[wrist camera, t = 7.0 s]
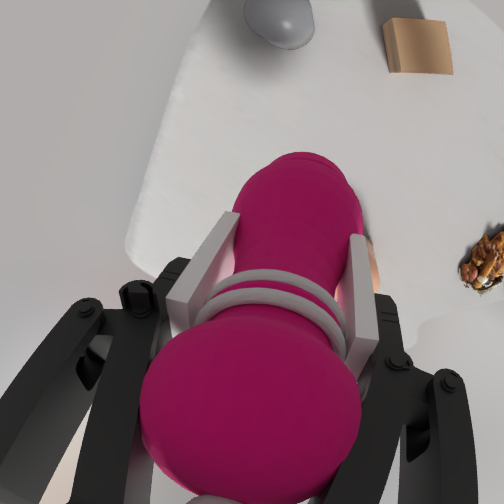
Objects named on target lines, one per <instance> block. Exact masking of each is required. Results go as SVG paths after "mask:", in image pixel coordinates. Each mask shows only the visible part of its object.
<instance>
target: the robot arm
mask: <svg viewBox="0 0 504 504" xmlns="http://www.w3.org/2000/svg"><path fill="white" fill-rule="evenodd" d="M239 218H240V213H234V212H228V211H225V212H224V214H223V215H222V217H221V218H220V219H219V221H218V222H217V224H216V225H215V226H214V228H213V229H212V231H211V232H210V233H209V235H208V236H207V238H206V239H205V241H204V242H203V243H202V245H201V246H200V248H199V249H198V251H197V252H196V253H195V255H194V256H193V258H192V259H186V258H181V257H177V258H176V259H174V260H173V261H171V262H169V263H168V265H167V266H166V267H165V268H164V270H163V272H161V274H160V275H159V277H158V278H157V279H156V280H155V282H154V283H151V282H149V281H145V280H134V281H131V282H128V283H127V284H125V285H124V286H122V287H121V289H120V290H119V295H120V298H121V303H122V306H123V309H103V305H102V304H101V302H100V301H99V300H97V299H95V298H83V299H81V300H79V301H77V302H76V303H74V304H73V305H72V306H71V307H70V308H69V310H68V311H67V312H66V313H65V314H64V316H63V317H62V318H61V319H60V320H59V322H58V323H57V324H56V325H55V326H54V328H53V329H52V330H51V331H50V333H49V334H48V335H47V336H46V338H45V339H44V340H43V341H42V343H41V344H40V345H39V346H38V348H37V349H36V350H35V352H34V353H33V354H32V356H31V357H30V358H29V360H28V361H27V362H26V364H25V365H24V366H23V368H22V369H21V370H20V372H19V373H18V374H17V376H16V377H15V379H14V380H13V381H12V383H11V384H10V386H9V387H8V389H7V390H6V391H5V393H4V394H3V396H2V397H1V399H0V504H39V502H40V500H41V498H42V496H43V494H44V492H45V490H46V488H47V486H48V484H49V482H50V480H51V478H52V476H53V474H54V472H55V470H56V468H57V466H58V464H59V463H60V461H61V459H62V457H63V455H64V453H65V451H66V449H67V447H68V446H69V444H70V442H71V440H72V438H73V436H74V434H75V433H76V431H77V429H78V427H79V425H80V424H81V422H82V420H83V418H84V417H85V415H86V413H87V411H88V410H89V408H90V406H91V404H92V407H91V411H90V414H89V418H88V422H87V426H86V429H85V433H84V437H83V441H82V446H81V450H80V454H79V459H78V463H77V468H76V473H75V478H74V483H73V488H72V493H71V497H70V500H69V502H68V503H67V504H150V493H151V483H152V474H153V464H154V461H153V460H152V458H151V456H150V454H149V453H148V451H147V449H146V448H145V446H144V444H143V440H142V436H141V431H140V423H139V404H140V395H141V390H142V385H143V380H144V377H145V375H146V373H147V370H148V368H149V366H150V364H151V363H152V361H153V360H154V358H155V357H156V356H157V354H158V353H159V352H160V351H161V349H162V348H163V347H164V346H165V345H166V343H167V342H168V341H169V340H171V339H172V338H174V337H175V336H176V335H178V334H179V333H181V332H184V331H186V330H188V329H190V328H192V327H193V325H194V322H195V319H196V316H197V314H198V313H199V311H200V310H201V309H202V307H203V304H204V302H205V299H206V297H207V296H208V294H209V293H210V291H211V290H212V288H213V287H214V286H215V285H216V284H218V283H219V282H220V281H222V280H223V279H225V278H227V277H229V276H231V274H232V272H233V270H234V265H235V260H234V243H235V236H236V231H237V226H238V222H239ZM337 303H338V305H339V306H340V308H341V310H342V312H343V315H344V317H345V322H346V328H347V329H346V338H345V342H346V357H345V361H344V364H345V365H346V366H347V367H348V369H349V370H350V371H351V372H352V374H353V376H354V378H355V380H356V383H357V385H358V387H359V391H360V399H361V407H362V416H361V421H360V426H359V431H358V435H357V438H356V440H355V442H354V444H353V446H352V448H351V450H350V452H349V454H348V455H347V457H346V459H345V460H344V461H342V463H341V464H340V466H339V468H338V470H337V471H336V473H335V475H334V476H333V478H332V479H331V480H330V482H329V483H328V484H327V485H326V487H325V488H324V489H323V490H322V492H321V493H319V494H317V495H315V496H313V497H311V498H310V500H309V502H308V504H379V502H380V499H381V497H382V494H383V491H384V488H385V485H386V482H387V479H388V476H389V473H390V469H391V466H392V462H393V459H394V456H395V452H396V448H397V445H398V441H399V437H400V474H399V493H398V504H478V481H477V465H476V455H475V445H474V437H473V429H472V423H471V416H470V410H469V405H468V399H467V393H466V389H465V384H464V382H463V379H462V378H461V377H460V375H459V374H458V373H456V372H455V371H453V370H450V369H440V370H439V371H437V372H436V373H435V374H434V375H432V374H429V373H427V372H424V371H422V370H420V369H418V368H416V367H415V366H413V361H412V359H411V358H410V356H409V355H408V354H407V353H405V352H404V348H403V341H402V335H401V329H400V324H399V317H398V312H397V307H396V304H395V302H394V301H393V300H392V298H391V297H390V296H388V295H382V294H377V293H374V290H373V282H372V275H371V269H370V262H369V256H368V250H367V244H366V238H365V236H364V235H359V234H352V235H351V236H350V240H349V248H348V255H347V261H346V266H345V270H344V274H343V276H342V278H341V279H340V281H339V283H338V285H337Z"/></svg>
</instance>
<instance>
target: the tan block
mask: <svg viewBox="0 0 504 504" xmlns="http://www.w3.org/2000/svg"><path fill="white" fill-rule="evenodd" d="M382 31H383V36H384V41H385V47H386V53H387V59H388V66H389V73H428V74H449V75H453V66H452V59H451V52H450V45H449V39H448V33H447V28H446V23H445V21H436V20H426V19H413V18H391V19H389V20H388V21H387V22H386V23H384V24H383V25H382Z"/></svg>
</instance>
